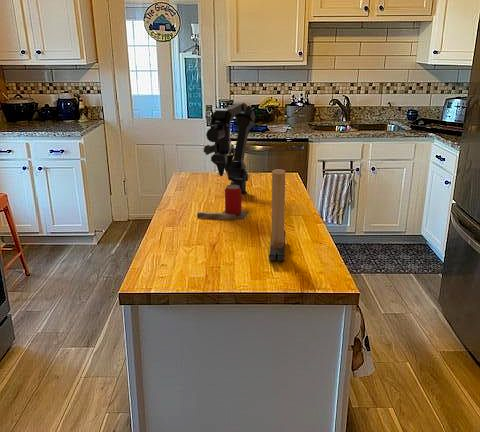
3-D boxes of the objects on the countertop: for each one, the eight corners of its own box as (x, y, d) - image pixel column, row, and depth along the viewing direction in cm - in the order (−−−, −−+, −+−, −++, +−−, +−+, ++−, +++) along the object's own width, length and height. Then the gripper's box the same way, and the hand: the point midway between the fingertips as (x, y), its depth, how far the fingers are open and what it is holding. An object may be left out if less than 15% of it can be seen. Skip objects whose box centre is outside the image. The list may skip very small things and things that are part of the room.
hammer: (284, 270, 152) (286, 186, 138) (268, 270, 153) (268, 186, 138) (285, 237, 170) (287, 159, 155) (271, 236, 170) (272, 158, 155)
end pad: (219, 217, 195) (219, 216, 195) (224, 210, 203) (224, 209, 203) (243, 219, 192) (243, 218, 192) (247, 212, 201) (247, 211, 201)
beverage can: (242, 211, 200) (242, 184, 196) (240, 217, 194) (240, 188, 190) (226, 211, 201) (225, 183, 197) (224, 216, 194) (223, 188, 190)
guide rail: (197, 217, 195) (197, 212, 194) (198, 216, 196) (198, 211, 195) (235, 220, 191) (235, 215, 191) (236, 219, 193) (236, 214, 192)
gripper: (211, 134, 216) (212, 167, 221) (198, 141, 199) (200, 177, 204) (235, 134, 213) (235, 168, 218) (224, 142, 196) (225, 179, 201)
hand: (223, 173), depth 211 cm, fingers open, 9 cm apart
